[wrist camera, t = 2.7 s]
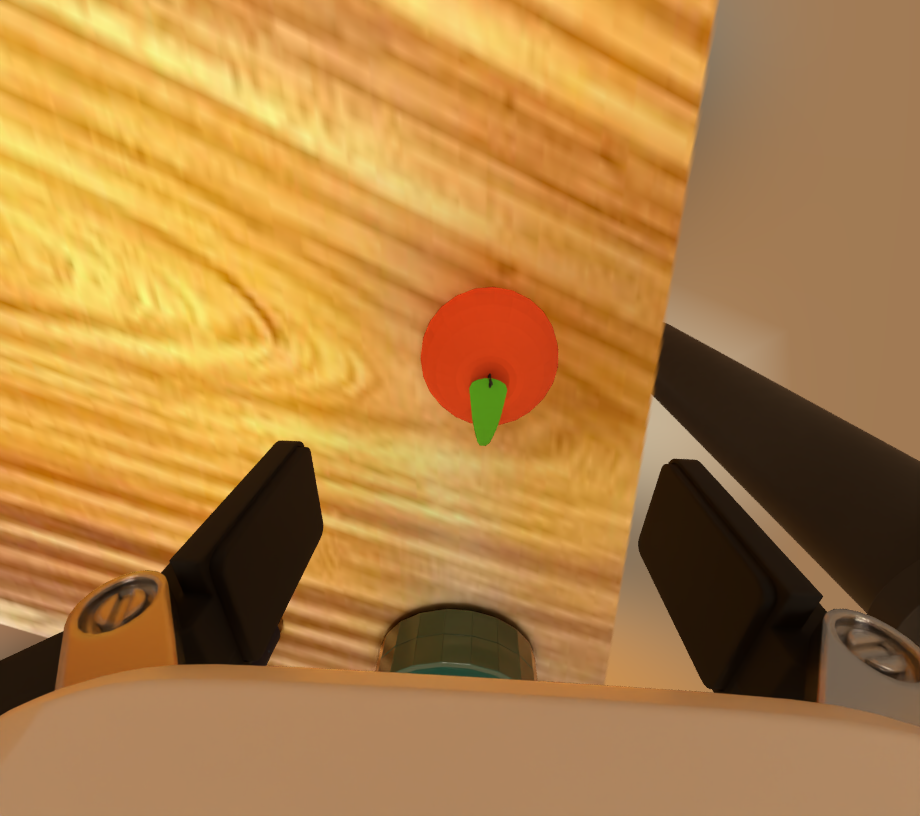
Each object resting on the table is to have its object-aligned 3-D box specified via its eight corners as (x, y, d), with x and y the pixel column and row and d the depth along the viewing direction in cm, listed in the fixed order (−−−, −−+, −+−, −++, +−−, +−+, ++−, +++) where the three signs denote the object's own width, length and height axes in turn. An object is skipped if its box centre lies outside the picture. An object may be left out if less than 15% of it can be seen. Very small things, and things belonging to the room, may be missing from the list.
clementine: (537, 410, 24) (556, 477, 18) (429, 404, 25) (411, 468, 18) (555, 280, 21) (587, 306, 14) (429, 274, 21) (406, 297, 15)
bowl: (542, 608, 33) (551, 670, 28) (524, 700, 39) (530, 763, 34) (378, 597, 33) (361, 656, 29) (387, 690, 39) (375, 750, 35)
